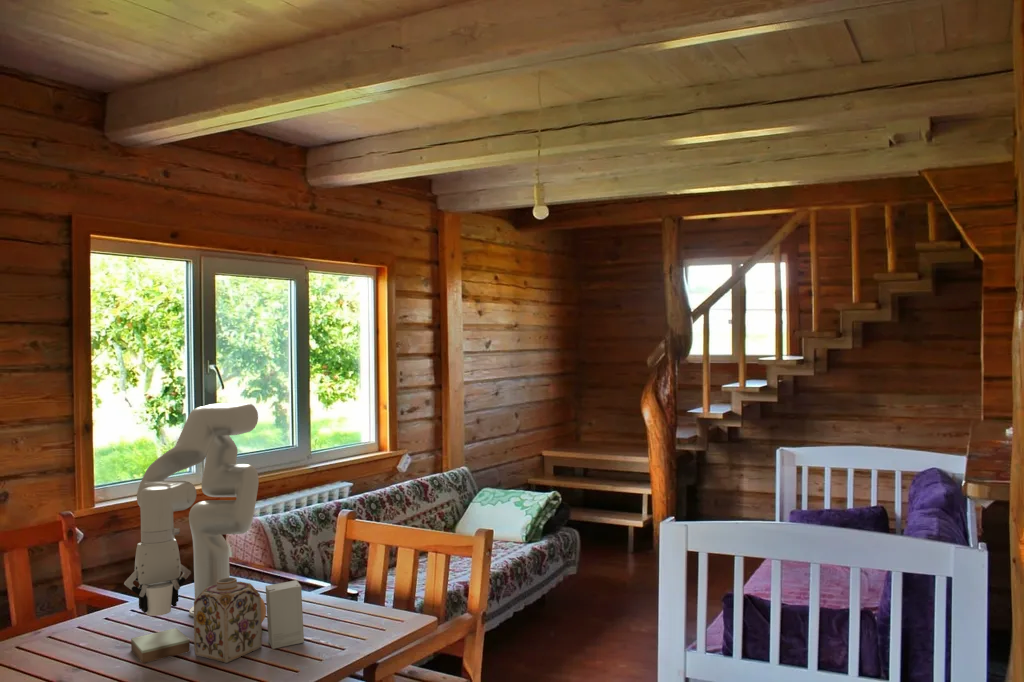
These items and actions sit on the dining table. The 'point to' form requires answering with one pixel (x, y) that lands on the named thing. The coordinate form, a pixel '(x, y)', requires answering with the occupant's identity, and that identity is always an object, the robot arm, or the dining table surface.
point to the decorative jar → (227, 620)
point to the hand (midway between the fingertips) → (158, 607)
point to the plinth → (160, 645)
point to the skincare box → (284, 614)
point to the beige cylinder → (159, 598)
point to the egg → (263, 610)
